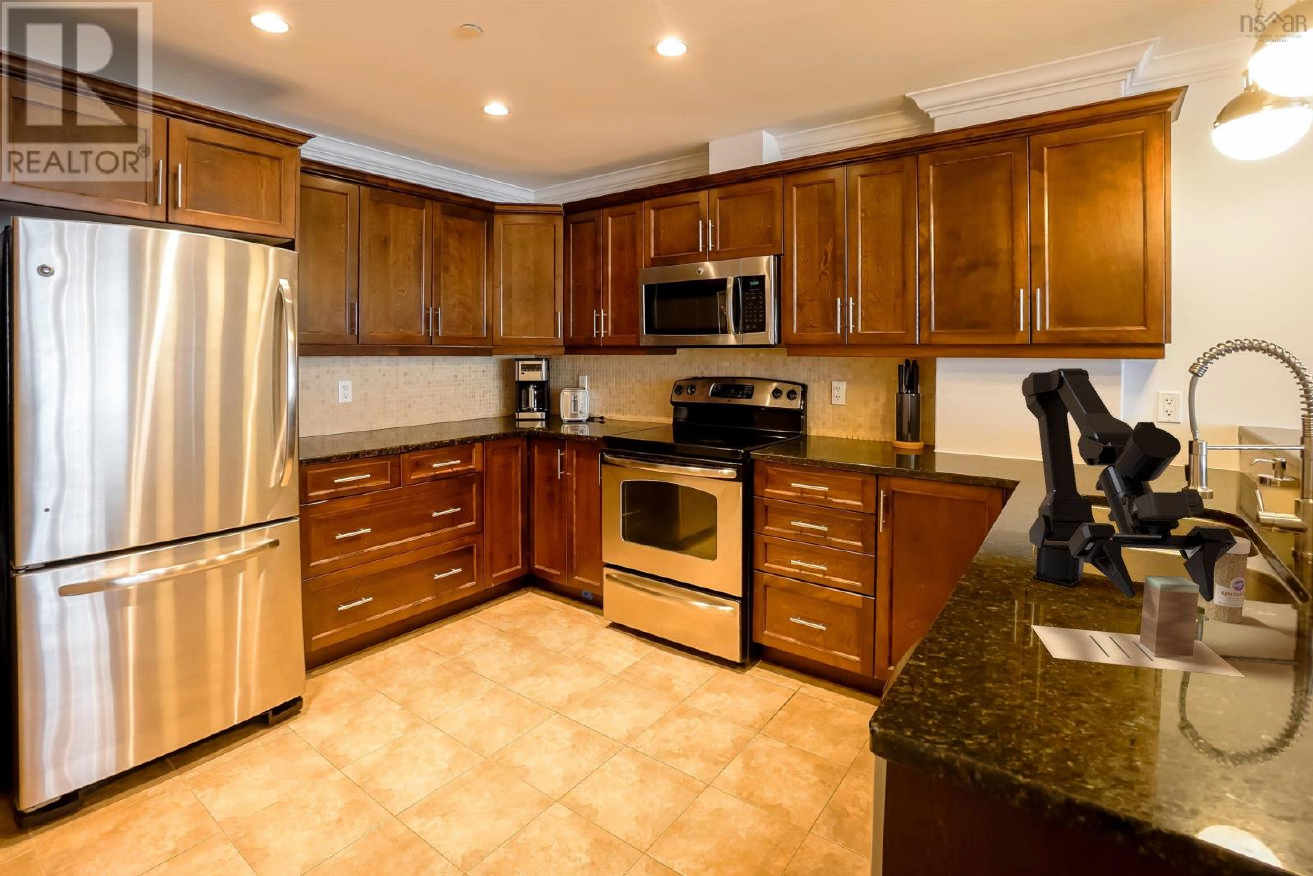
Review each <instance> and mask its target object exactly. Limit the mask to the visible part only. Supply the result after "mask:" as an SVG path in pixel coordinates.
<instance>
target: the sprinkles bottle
mask: <svg viewBox="0 0 1313 876" xmlns="http://www.w3.org/2000/svg"><path fill="white" fill-rule="evenodd" d="M1234 537H1235V539H1236V541H1237V544H1235V545H1234V546H1233V547H1232V548H1231V549H1230V550H1229V551H1227V552H1226V553H1225V554H1224V555H1223V556H1222V557H1221V558H1220V559H1218V560H1217V561H1216V562H1215V568H1214V598H1213V600H1212V601H1210V602H1207V601H1206V600H1205V606H1204V617H1206V618H1207V619H1210V620H1212V621H1216V622H1219V623H1224V624H1234V625H1237V624H1240V623H1242V620H1243V619H1242V617H1243V609H1244V604H1245V595H1246V582H1247V581H1246V579H1247V567H1248V566H1247V565H1248V556H1249V554H1250V552H1251V541H1250V539H1247V538H1244V537H1240V536H1235V535H1234Z"/></svg>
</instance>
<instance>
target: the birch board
mask: <svg viewBox="0 0 1313 876" xmlns="http://www.w3.org/2000/svg"><path fill="white" fill-rule="evenodd" d="M1031 627H1032V629H1033V630H1034V631H1035V633H1036V634H1037V636H1038V637H1039V638H1040V640H1041V642H1042V643H1043V645H1044V646H1045V648H1046V649H1047V651H1048V652H1049V653H1050V654H1051V656H1052V657H1053V658H1054V659H1061V660H1062V659H1063V660H1069V661H1070V660H1071V661H1080V662H1092V663H1101V664H1111V665H1118V666H1119V665H1120V666H1131V667H1139V668H1148V669H1157V670H1158V669H1159V670H1169V671H1178V672H1179V671H1180V672H1186V673H1187V672H1188V673H1198V674H1204V675H1205V674H1206V675H1217V676H1226V677H1237V678H1247V677H1246V676H1245V675H1243V674H1242V673H1241V672H1240V671H1238V670H1237V669H1236V668H1235V667H1234V666H1232V665H1231V664H1230V663H1228V662H1227V661H1226V660H1225V659H1223V658H1222V657H1221V656H1220V655H1219V654H1217V653H1216V652H1215V651H1214V650H1213V649H1211V648H1210V647H1209V646H1208V645H1206V644H1205V643H1204V642H1202V640H1197V639H1194V649H1193V659H1179V658H1162V657H1154V656H1152V655H1151V654H1150V653H1148V652H1147V651H1146V650H1144V649H1143V648H1142V647H1141V646H1140V634H1133V633H1122V632H1121V633H1120V632H1109V631H1099V630H1087V629H1078V628H1077V629H1075V628H1067V627H1065V628H1063V627H1056V626H1055V627H1053V626H1045V625H1043V626H1042V625H1033V624H1031Z"/></svg>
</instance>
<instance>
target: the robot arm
mask: <svg viewBox="0 0 1313 876" xmlns="http://www.w3.org/2000/svg"><path fill="white" fill-rule="evenodd" d="M1021 393H1022V396H1023V397H1024V400H1025V405H1026V408H1027V409H1028V410H1029V412H1030V413H1031V414H1032V415H1033V416H1034V418H1036V419H1037V423H1038V431H1039V440H1040V449H1041V456H1042V457H1041V458H1042V459H1041V460H1042V467H1043V474H1044V475H1043V476H1044V484H1045V485H1044V486H1045V492H1046V493H1045V494H1046V495H1045V496H1044V498H1043V499H1042V501H1041V503H1040V505H1039V507H1038V508H1037V515H1038V516H1037V518H1036V519H1035V521H1034V522H1033V524H1032V525H1031V527H1030V528H1029V530H1028V535H1029V537H1028V538H1029V543H1031V544H1033V546H1036V563H1035V573H1032V575H1031V578H1032V577H1037V578H1041V579H1045V580H1048V581H1047V582H1049V581H1051V582H1050V583H1053V582H1057V583H1056V584H1058V583H1061V584H1060V585H1062V584H1064V585H1063V586H1066V585H1067V587H1071V586H1074V585H1075V584H1077V583H1078V581H1079V582H1080V581H1081V579H1082V578H1083V579H1084V566H1085V565H1084V564H1090V565H1091V566H1093V567H1094V568H1095V569H1097V570H1098V571H1099V572H1100V573H1102V574H1103V575H1104V576H1105V577H1107V578H1108V580H1110V581H1111V582H1112V583H1113V584H1114V585H1115V586H1116V587H1117V588H1118V590H1120V591H1122V593H1123V594H1124V595H1125V596H1127V598H1128V599H1134V598H1135V597H1136V591H1135V587H1134V583H1133V581H1132V578H1131V575H1130V574H1129V571H1128V569H1127V566H1126V564H1125V561H1124V558H1123V555H1122V554H1123V553H1122V548H1126V549H1129V548H1131V549H1146V550H1147V549H1148V550H1155V549H1156V550H1174V551H1175V550H1178V552H1179V553H1180V556H1181V558H1183V559H1184V560H1185V561H1184V562H1183V563H1182V564H1183V566H1184V568H1185V570H1186V572H1187V574H1188V575H1189V577H1190V579H1191V580H1192V582H1194V583H1196V584H1197V585H1199V595H1201V596H1202V599H1204V601H1205V602H1206V601H1207V602H1210V601H1212V600H1213V598H1214V568H1215V562H1216V561H1217V560H1218V559H1220V558H1221V557H1222V556H1223V555H1224V554H1225V553H1226V552H1227V551H1229V550H1230V549H1231V548H1232V547H1233V546H1234V545H1235V544H1237V541H1236V539H1235V537H1234V536H1235V535H1234V534H1233V531H1232V530H1231V529H1230V528H1228V527H1225V526H1221V525H1220V526H1215V525H1195V526H1194V527H1193V528H1191V529H1190V530H1189V532H1188V533H1187V534H1186V535H1183V534H1172V533H1171V531H1172V530H1177V529H1178V527H1180V523H1179V521H1180V520H1183V519H1185V518H1186V519H1190V518H1192V517H1193V516H1194V515H1197V514H1199V513H1202V512H1203V511H1204V509H1205V505H1204V501H1203V499H1204V498H1202V496H1201V495H1200V492H1199V491H1198V489H1196V488H1195V489H1193V488H1192V489H1189V488H1184V489H1181V491H1180V490H1179V491H1176V492H1173V491H1172V492H1169V491H1168V492H1167V491H1156V492H1154V490H1153V488H1152V486H1151V483H1150V482H1153V481H1156V480H1157V479H1158V478H1160V477H1161V475H1162V474H1164V472H1165V471H1166V470H1167V468H1168V467H1169V466H1170V465H1171V464H1172V462H1173V461H1174V460H1175V458H1176V457H1177V456H1178V455H1179V453H1180V452H1181V450H1182V444H1181V442H1180V441H1179V438H1177V437H1175V436H1174V435H1173V434H1172V433H1170V432H1169V431H1167V430H1165V429H1163V428H1159V427H1156V424H1155V422H1154V421H1138V422H1137V423H1136V425H1134V427H1133V428H1132V427H1131V425H1130V424H1129V423H1127V422H1125V421H1123V420H1120V419H1118V418H1116V417H1114V416H1113V415H1112V414H1111V412H1110V411H1109V409H1108V408H1107V406H1106V404H1105V402H1104V401H1103V400H1102V398H1101V397H1100V395H1099V393H1098V392H1097V391H1096V389H1095V387H1094V386H1093V384H1092V383H1091V381H1090V376H1089V372H1088V370H1086V369H1083V368H1081V367H1080V368H1078V367H1074V368H1073V367H1071V368H1070V367H1069V368H1068V367H1066V368H1064V367H1063V368H1060V367H1059V368H1057V369H1053V370H1050V371H1047V372H1046V371H1043V372H1041V371H1040V372H1039V371H1036V372H1035V371H1034V372H1030V373H1029V374H1028V376H1027V377H1024V378H1023V380H1022V384H1021ZM1068 413H1069V415H1070V416H1071V417H1072V419H1073V421H1074V423H1075V425H1076V427H1077V429H1078V431H1079V433H1080V436H1079V439H1078V441H1077V447H1078V453H1079V456H1080V457H1081V459H1082V460H1083V462H1084V463H1085V464H1086V465H1087V466H1090V467H1104V468H1103V469H1102V471H1101V472H1100V473H1099V475H1098V480H1097V481H1096V483H1095V490H1096V491H1101V492H1102V491H1103V492H1104V493H1103V494H1104V496H1105V498H1106V501H1107V503H1108V506H1109V509H1110V512H1109V513H1108V515H1107V518H1108V520H1109V522H1114V523H1115V524H1116V528H1117V531H1118V532H1116V529H1115V526H1114V525H1113V524H1111V523H1107V522H1106V523H1104V522H1096V520H1095V518H1094V514H1093V506H1092V505H1093V504H1092V501H1091V500H1090V498H1088V497H1083V496H1082V495H1081V494H1080V492H1079V491H1078V487H1077V481H1076V471H1075V465H1074V457H1073V449H1072V442H1071V441H1072V440H1071V435H1070V425H1069V418H1068V417H1069V416H1068ZM1083 579H1082V580H1083ZM1045 580H1044V581H1045ZM1076 582H1077V583H1076ZM1074 583H1075V584H1074ZM1073 584H1074V585H1073Z"/></svg>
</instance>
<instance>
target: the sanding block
mask: <svg viewBox="0 0 1313 876" xmlns="http://www.w3.org/2000/svg"><path fill="white" fill-rule="evenodd" d="M1199 594H1200V592H1199V585H1197V584H1196V583H1194V582H1193V580H1192V581H1191V580H1190V579H1187V578H1185V577H1184V576H1175V575H1174V576H1173V575H1172V576H1171V575H1151V574H1150V575H1149V574H1148V575H1146V574H1145V576H1144V585H1143V598H1142V599H1143V600H1142V612H1141V621H1140V622H1141V624H1140V634H1139V635H1140V646H1141V647H1142V648H1143V649H1144V650H1146V651H1147V652H1148V653H1150V654H1151V655H1152V656H1154V657H1162V658H1179V659H1193V649H1194V640H1195V635H1196V625H1197V617H1198V616H1197V614H1198V604H1199Z"/></svg>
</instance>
